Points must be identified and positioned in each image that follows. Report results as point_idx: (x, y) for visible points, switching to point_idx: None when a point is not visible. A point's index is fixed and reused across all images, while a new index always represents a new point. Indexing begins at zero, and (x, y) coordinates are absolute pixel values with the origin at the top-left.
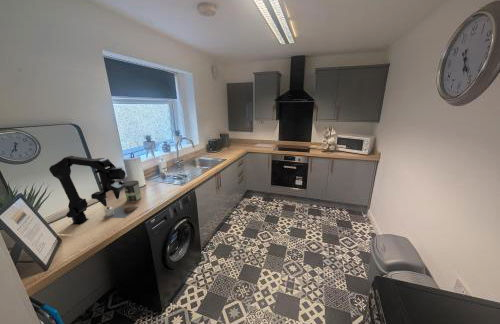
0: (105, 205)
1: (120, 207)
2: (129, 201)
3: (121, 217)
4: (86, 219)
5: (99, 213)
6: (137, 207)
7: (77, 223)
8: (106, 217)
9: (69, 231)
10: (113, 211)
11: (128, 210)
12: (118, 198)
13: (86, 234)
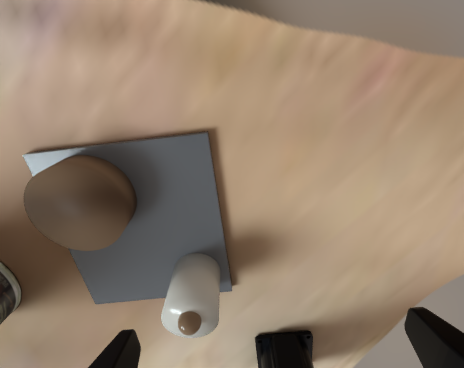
0: (449, 331)
1: (99, 283)
2: (10, 287)
3: (206, 170)
4: (275, 342)
5: None
6: (36, 159)
7: (308, 350)
8: (228, 269)
9: (361, 329)
10: (176, 273)
11: (118, 181)
12: (121, 336)
13: (398, 234)
